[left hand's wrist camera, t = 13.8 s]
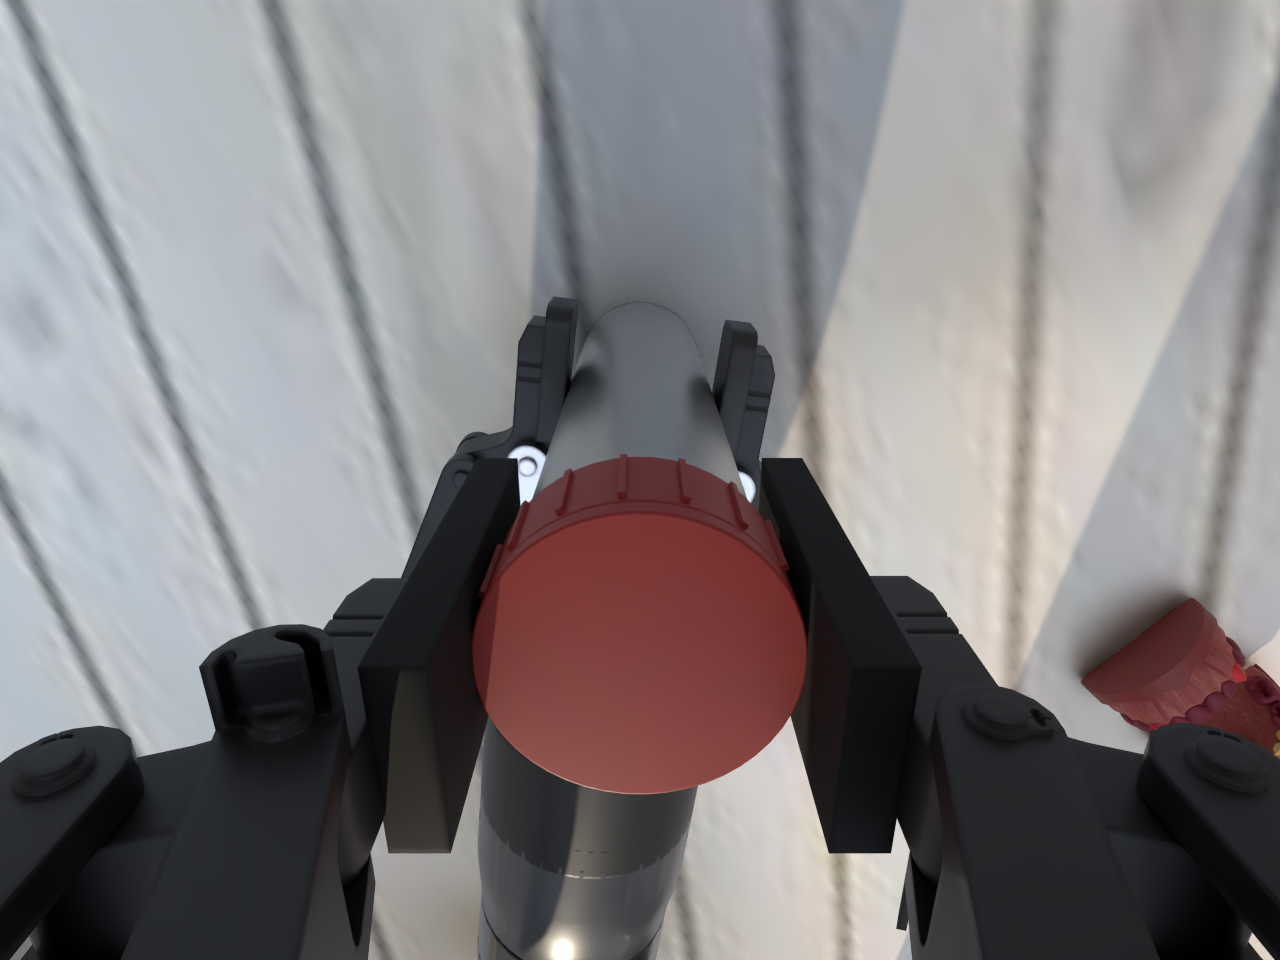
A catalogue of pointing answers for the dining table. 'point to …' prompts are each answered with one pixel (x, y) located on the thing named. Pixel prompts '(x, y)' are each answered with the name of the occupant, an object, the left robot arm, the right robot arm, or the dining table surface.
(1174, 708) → the dental model
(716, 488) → the lid
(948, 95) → the dining table surface
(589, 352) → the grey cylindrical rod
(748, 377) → the right robot arm
